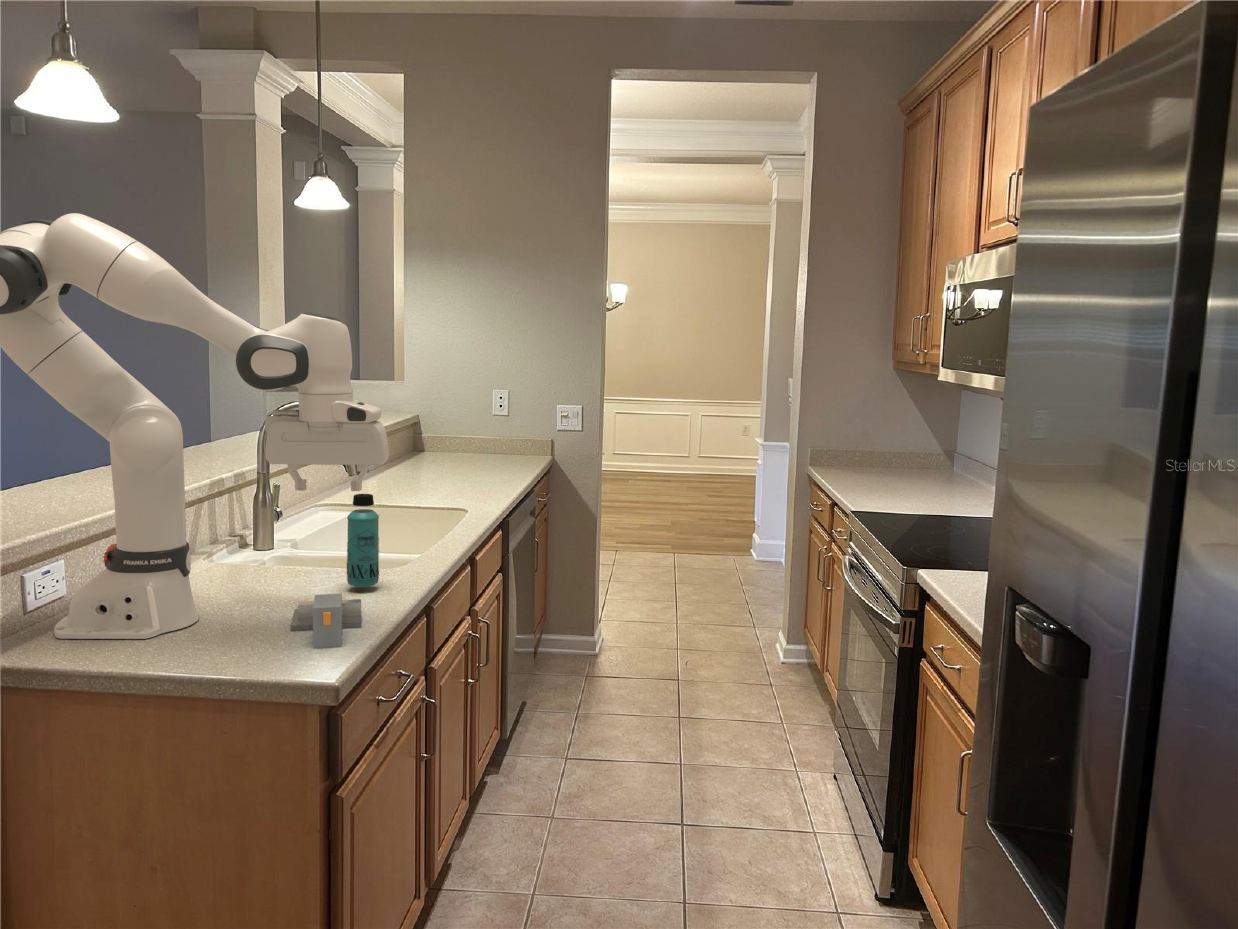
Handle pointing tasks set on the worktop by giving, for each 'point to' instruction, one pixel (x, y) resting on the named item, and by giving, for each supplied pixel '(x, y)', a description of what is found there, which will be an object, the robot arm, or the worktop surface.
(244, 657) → the worktop surface
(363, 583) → the beverage bottle
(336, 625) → the module
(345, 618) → the grey ledge plate
